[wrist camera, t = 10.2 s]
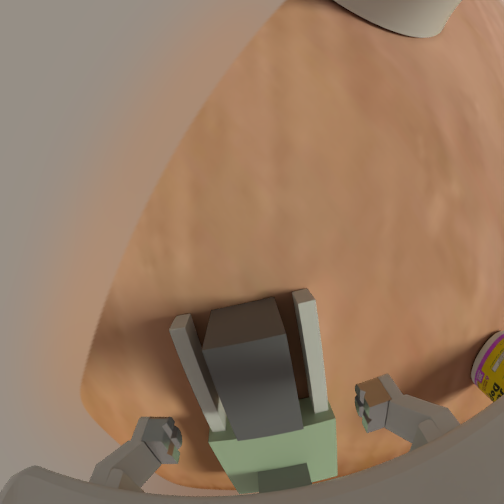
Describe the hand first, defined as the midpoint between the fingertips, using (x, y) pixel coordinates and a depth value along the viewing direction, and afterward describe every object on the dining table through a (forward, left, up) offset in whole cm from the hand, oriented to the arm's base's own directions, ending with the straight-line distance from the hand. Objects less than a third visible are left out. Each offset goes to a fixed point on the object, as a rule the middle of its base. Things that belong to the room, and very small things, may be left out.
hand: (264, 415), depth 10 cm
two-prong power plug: (+6, 0, -7) cm, 10 cm away
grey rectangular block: (+1, 0, -8) cm, 8 cm away
